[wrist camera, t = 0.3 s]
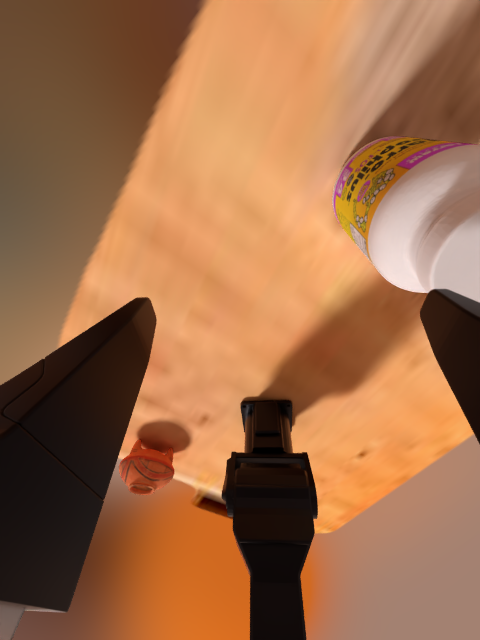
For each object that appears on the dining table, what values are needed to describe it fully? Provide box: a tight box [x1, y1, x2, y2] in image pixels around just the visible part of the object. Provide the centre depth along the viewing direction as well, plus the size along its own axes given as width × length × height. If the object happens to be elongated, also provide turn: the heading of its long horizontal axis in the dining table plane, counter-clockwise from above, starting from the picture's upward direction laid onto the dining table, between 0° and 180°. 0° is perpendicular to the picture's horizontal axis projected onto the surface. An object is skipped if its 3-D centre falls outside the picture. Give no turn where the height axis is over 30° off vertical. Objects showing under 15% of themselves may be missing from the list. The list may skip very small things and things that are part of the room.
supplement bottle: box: [332, 136, 480, 302], centre depth 15 cm, size 7×7×13 cm
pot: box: [119, 439, 174, 495], centre depth 41 cm, size 8×8×7 cm
